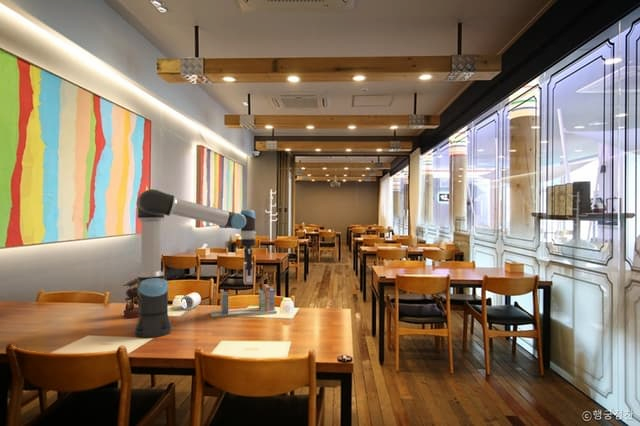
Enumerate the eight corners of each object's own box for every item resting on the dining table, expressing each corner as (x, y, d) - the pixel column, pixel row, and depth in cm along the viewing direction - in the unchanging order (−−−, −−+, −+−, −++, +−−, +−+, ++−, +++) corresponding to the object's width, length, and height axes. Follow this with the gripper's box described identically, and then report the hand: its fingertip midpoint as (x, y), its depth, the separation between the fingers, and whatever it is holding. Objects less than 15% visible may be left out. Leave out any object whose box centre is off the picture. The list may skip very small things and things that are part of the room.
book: (253, 284, 200) (253, 263, 200) (244, 284, 198) (244, 263, 199) (251, 281, 208) (251, 261, 208) (243, 281, 207) (243, 261, 207)
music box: (137, 319, 189) (134, 280, 190) (117, 320, 191) (114, 281, 191) (154, 312, 204) (151, 275, 205) (135, 313, 206) (133, 276, 206)
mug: (201, 306, 220) (201, 292, 220) (193, 310, 210) (193, 296, 210) (181, 305, 221) (181, 291, 221) (173, 309, 211) (173, 295, 211)
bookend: (228, 313, 197) (228, 294, 197) (222, 314, 196) (222, 295, 196) (227, 309, 205) (227, 291, 206) (221, 310, 205) (221, 291, 205)
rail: (276, 313, 203) (276, 287, 203) (211, 318, 193) (211, 290, 194) (273, 308, 214) (273, 283, 214) (211, 312, 204) (211, 286, 204)
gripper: (257, 239, 194) (257, 283, 194) (253, 237, 215) (253, 276, 215) (242, 240, 192) (242, 284, 192) (239, 237, 213) (239, 277, 213)
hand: (248, 280), depth 203 cm, fingers closed on book, 9 cm apart
